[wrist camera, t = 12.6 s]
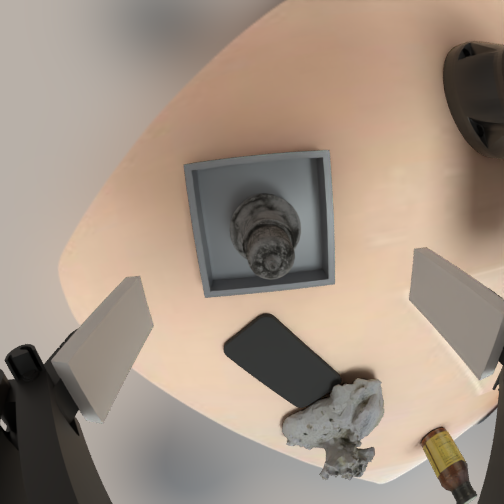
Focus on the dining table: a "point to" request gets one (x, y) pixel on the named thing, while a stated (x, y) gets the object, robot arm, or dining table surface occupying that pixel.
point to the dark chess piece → (266, 234)
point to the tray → (244, 186)
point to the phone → (281, 361)
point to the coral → (339, 427)
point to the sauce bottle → (448, 465)
